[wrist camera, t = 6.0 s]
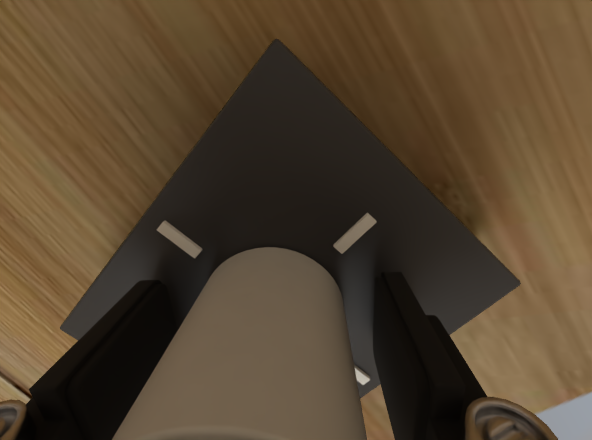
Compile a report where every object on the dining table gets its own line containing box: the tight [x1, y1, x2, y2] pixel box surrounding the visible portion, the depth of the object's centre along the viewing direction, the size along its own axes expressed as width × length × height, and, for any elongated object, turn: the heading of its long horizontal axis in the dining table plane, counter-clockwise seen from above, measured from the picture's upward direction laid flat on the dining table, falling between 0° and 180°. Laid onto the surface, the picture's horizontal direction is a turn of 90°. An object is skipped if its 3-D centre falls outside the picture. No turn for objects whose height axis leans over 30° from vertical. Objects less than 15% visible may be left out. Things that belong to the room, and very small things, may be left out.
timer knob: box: [112, 247, 367, 440], centre depth 7 cm, size 5×5×6 cm
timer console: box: [60, 39, 521, 398], centre depth 11 cm, size 12×10×3 cm
